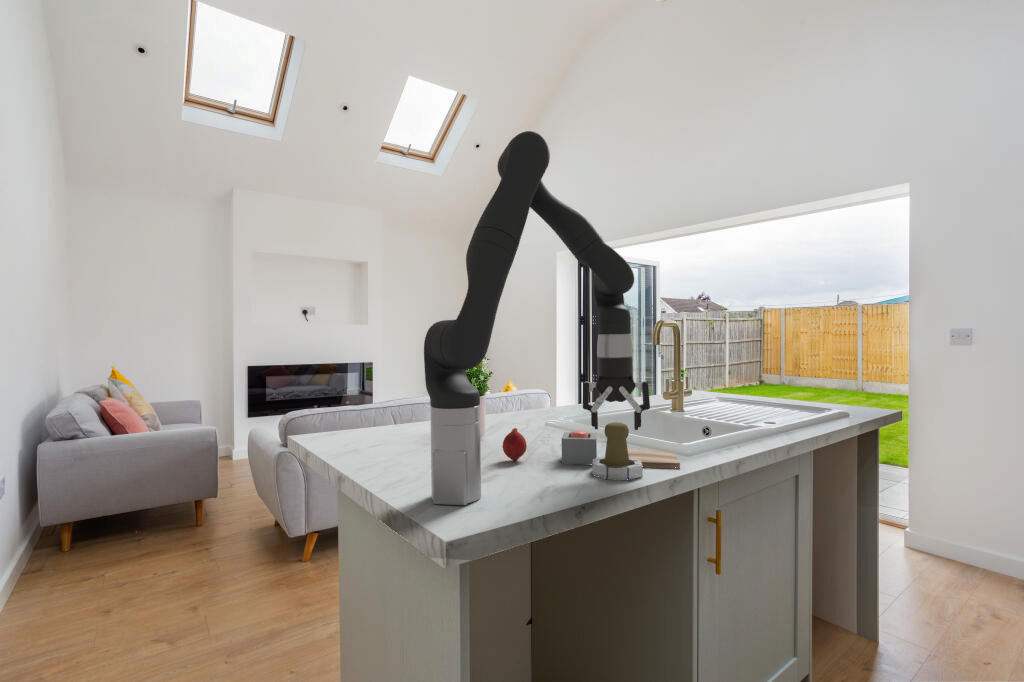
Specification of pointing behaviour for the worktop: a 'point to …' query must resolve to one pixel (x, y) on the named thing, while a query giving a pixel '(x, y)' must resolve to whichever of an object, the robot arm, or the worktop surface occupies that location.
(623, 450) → the cork
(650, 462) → the board
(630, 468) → the seat ring
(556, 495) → the worktop surface
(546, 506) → the worktop surface
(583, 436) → the plunger
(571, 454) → the housing
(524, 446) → the onion
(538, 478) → the worktop surface
